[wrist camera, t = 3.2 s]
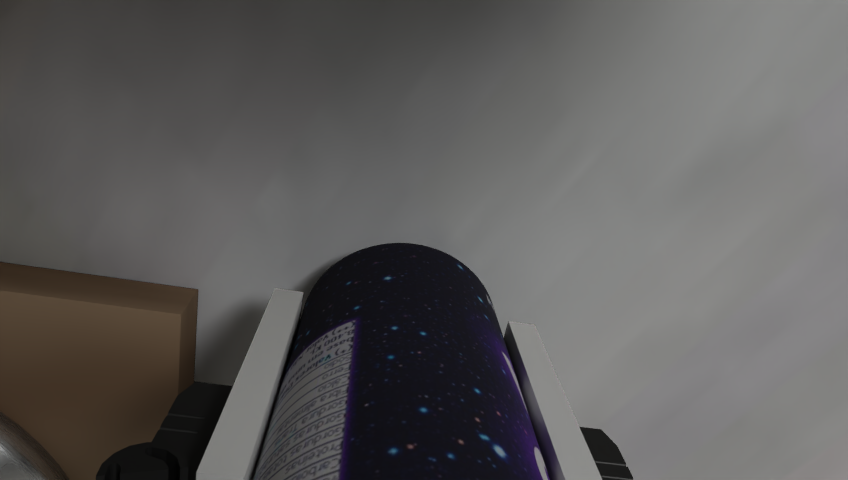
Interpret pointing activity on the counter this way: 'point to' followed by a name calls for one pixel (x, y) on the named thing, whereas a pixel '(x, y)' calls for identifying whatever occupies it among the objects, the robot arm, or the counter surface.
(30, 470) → the flange
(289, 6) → the counter surface
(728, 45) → the counter surface
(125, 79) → the counter surface
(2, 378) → the base plate
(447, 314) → the beverage can
